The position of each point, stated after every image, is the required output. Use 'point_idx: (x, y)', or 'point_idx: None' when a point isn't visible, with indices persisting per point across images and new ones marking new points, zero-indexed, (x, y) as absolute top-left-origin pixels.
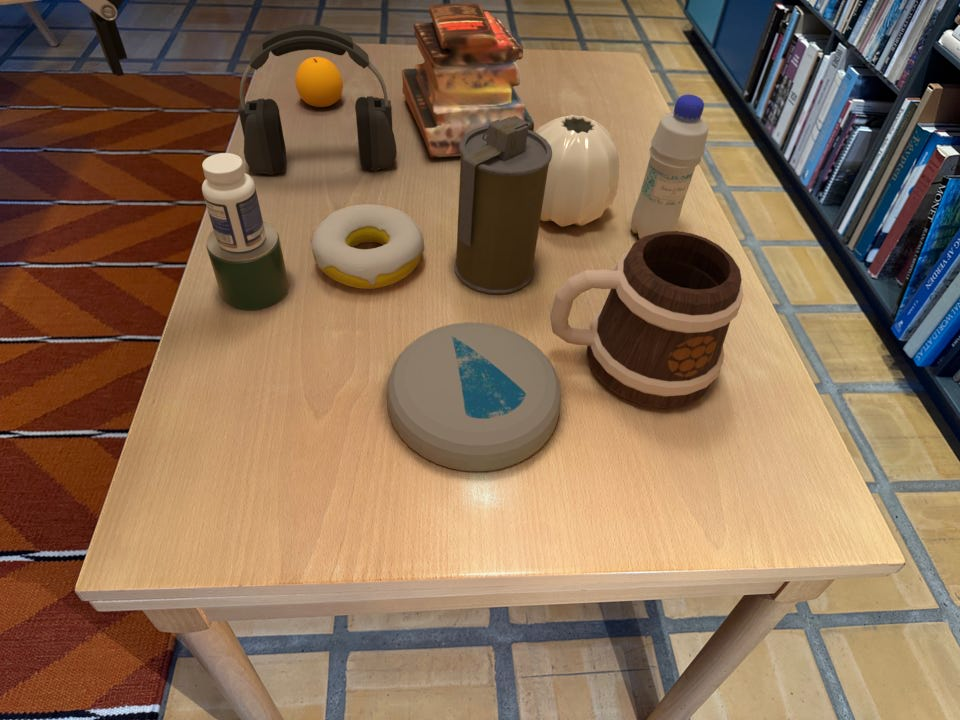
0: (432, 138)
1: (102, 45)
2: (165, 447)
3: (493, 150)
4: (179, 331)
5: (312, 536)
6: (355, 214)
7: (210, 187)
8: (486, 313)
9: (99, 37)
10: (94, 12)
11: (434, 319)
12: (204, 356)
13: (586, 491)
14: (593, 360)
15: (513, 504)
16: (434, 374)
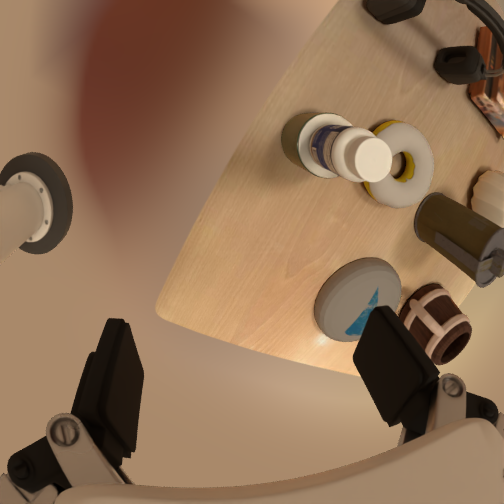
0: (481, 97)
1: (377, 377)
2: (198, 259)
3: (490, 263)
4: (237, 157)
5: (249, 333)
6: (411, 144)
7: (344, 159)
8: (405, 248)
9: (384, 384)
10: (404, 425)
11: (384, 238)
12: (245, 194)
13: (352, 349)
14: (408, 308)
15: (328, 346)
16: (352, 308)
